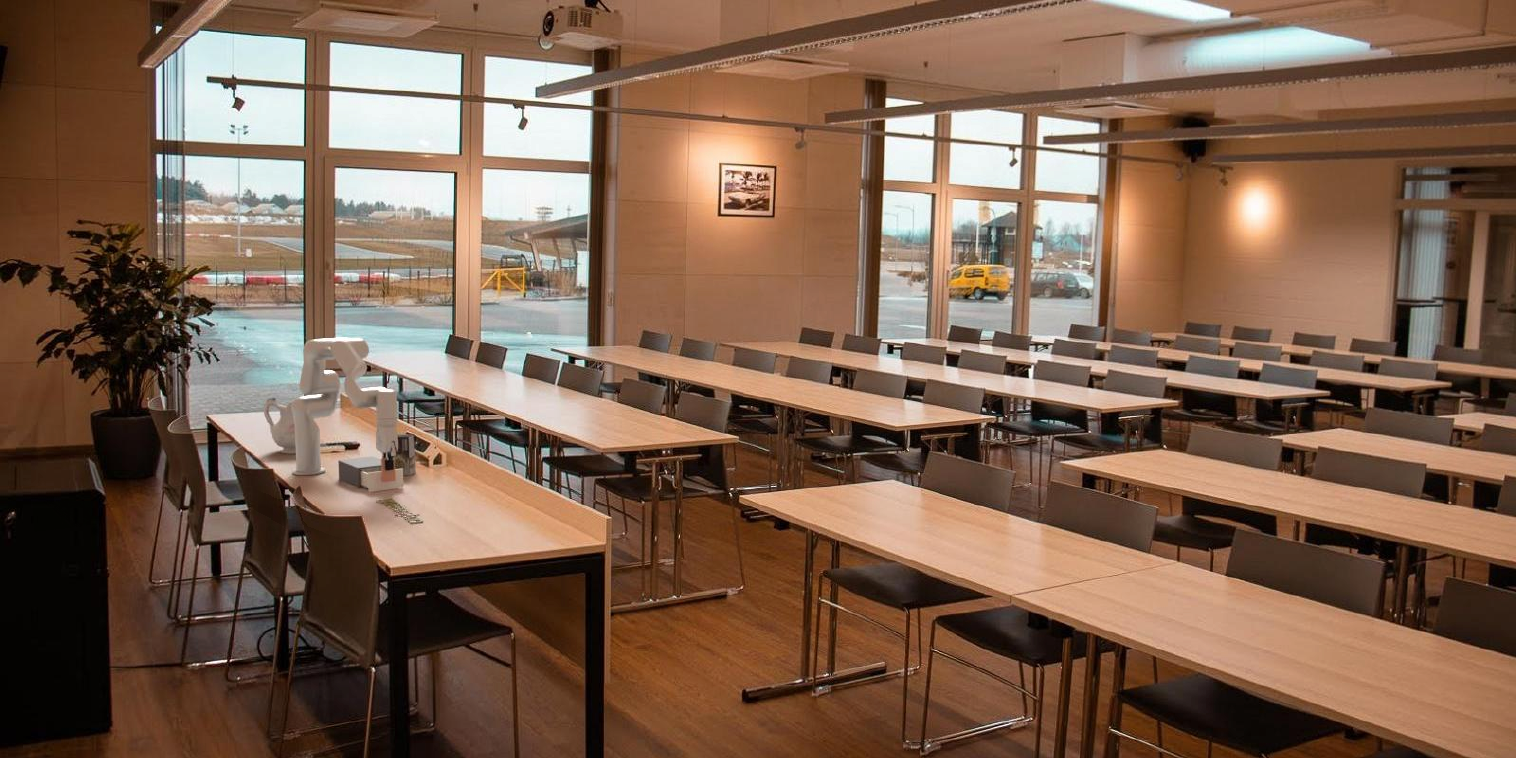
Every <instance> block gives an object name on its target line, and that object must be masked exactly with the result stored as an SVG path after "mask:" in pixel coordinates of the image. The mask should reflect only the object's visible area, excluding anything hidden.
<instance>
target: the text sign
mask: <svg viewBox="0 0 1516 758" xmlns="http://www.w3.org/2000/svg"><path fill="white" fill-rule="evenodd" d="M375 502H376V503H377V504H379V505H385V506H386V507H388V506H390V507H389V508H388V509H390V508H393V509H391V510H393V511H392V512H396V513H394V514H395V515H394V517H399V516H398V515H401V516H406V517H402V519H403V518H405V519H404V521H405V520H408V521H407V523H409V524H410V523H416V524H419V523H418V522H425V521H424V520H423V519H420V517H419V516H420V513H415V514H413V512H408V511H410V510H409V509H408V508H406V507H404V505H401V503H399V502H398V501H396V500H395V499H393V498H384V499H382V498H381V499H376V500H375ZM396 506H400V507H396ZM401 508H403V509H401ZM395 509H398V510H395ZM403 510H406V511H403ZM398 511H401V512H398ZM405 512H407V513H405ZM397 513H398V514H397ZM402 513H403V514H402ZM407 514H412V515H407ZM416 515H419V516H416ZM401 516H400V517H401ZM412 516H415V517H412ZM408 518H415V519H408ZM410 521H416V522H410Z"/></svg>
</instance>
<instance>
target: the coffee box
mask: <svg viewBox="0 0 1516 758" xmlns="http://www.w3.org/2000/svg"><path fill="white" fill-rule="evenodd" d="M397 437H398V451H397V452H396V456H394V457H395V469H401V468H403V476H412V475H414V474H416V471H417V470H416V444H415V443H416V442H415V433H414V434H413V433H397Z"/></svg>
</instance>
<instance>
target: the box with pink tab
mask: <svg viewBox="0 0 1516 758" xmlns="http://www.w3.org/2000/svg"><path fill="white" fill-rule="evenodd" d="M380 459H381V467H379V468H371V469H363V470H360V485H362V486H364V487H365V488H367V489H368V492H369V493H372V492H381V491H386V490H387V491H388V490H394V489H400V488H404V475H403V468H401V469H395V457H394V470H388V471H386V470H385V460H386V458H382V457H381V458H380Z"/></svg>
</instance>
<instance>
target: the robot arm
mask: <svg viewBox="0 0 1516 758" xmlns="http://www.w3.org/2000/svg"><path fill="white" fill-rule="evenodd" d="M369 353H370V348H369V345H368V343H367V342H366V340H364V339H363V338H360V337H333V338H331V337H330V338H318V339H317V338H316V339H310V340H307V341H306V342H305V343H304V346H303V350H302V354H303V364H302V369H301V375H300V378H299V379H300V380H299V390H300V392H301V394H303V395H302V396H299V397H296V398H295V399H294V400H292V401H293V402H292V405H291V410H292V414H293V419H294V426H295V445H296V453H295V463H296V464H295V467H296V468H294V469H293V470H292V471H291V473H292V475H295V476H315V475H320V474H324V473H325V472H326V468H325V467H322V459H321V457H322V456H321V453H322V452H321V433H320V432H321V430H320V426H319V425H318V423H317V422H316V421H315V419H320V418H326V417H330V416H332V415H333V414H334V413H335V412H336V408H337V403H338V400H339V399H338V398H339V393H340V388H341V379H340V377H339V375H338V373H337V372H336V371H334V370H332V369H331V370H330V369H326V366H327V365H326V361H328V360H329V361H331V360H335V361H336V362H337V363H336V364H338V366H339V367H340V368H341V370H342V371H343V373H344V374H345V377H344V392H345V395H346V397H347V398H348V399H349V401H350V402H351V403H352V405H353V406H354V407H356V408H357V409H369V408H376V410H375V411H376V412H375V413H376V431H375V432H376V433H375V437H376V438H375V448H376V450H377V451H378V452H380V453H381V459H382V458H386V460H385V470H386V471H388V470H394V456H396V452H397V451H398V437H397V434H398V429H397V426H398V397H397V391H396V390H394V389H388V388H386V387H385V386H376V387H375V386H374V387H373V386H372V387H364V388H361V387H359V385H358V384H357V383H356V381H357V380H359V379H361V378H362V376H364V375H365V374H366V372H367V369H368V366H367V364H366V362H365V361H364V359H366V358H367V357H368V355H369Z"/></svg>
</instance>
